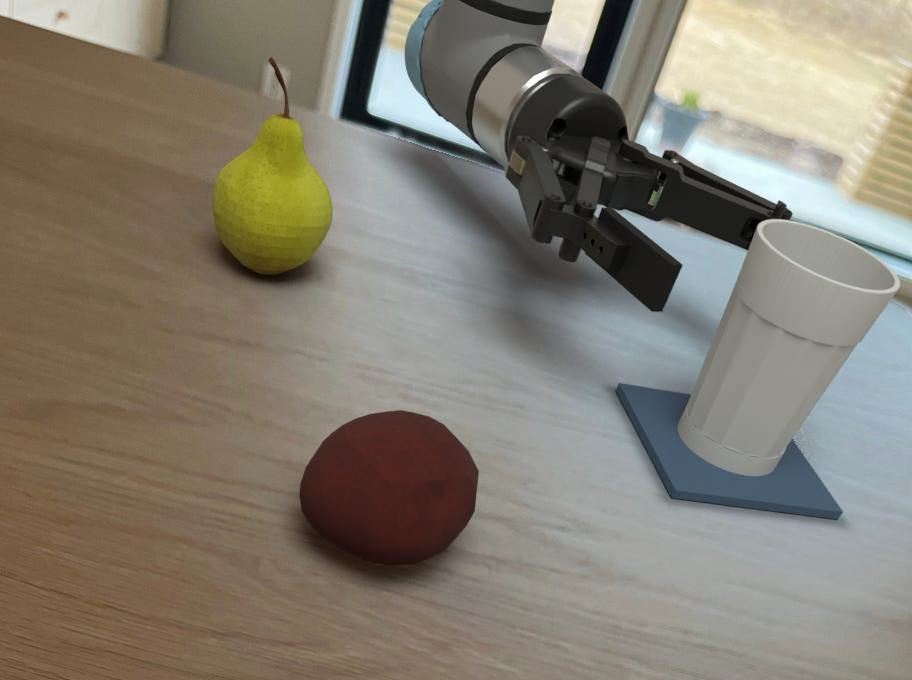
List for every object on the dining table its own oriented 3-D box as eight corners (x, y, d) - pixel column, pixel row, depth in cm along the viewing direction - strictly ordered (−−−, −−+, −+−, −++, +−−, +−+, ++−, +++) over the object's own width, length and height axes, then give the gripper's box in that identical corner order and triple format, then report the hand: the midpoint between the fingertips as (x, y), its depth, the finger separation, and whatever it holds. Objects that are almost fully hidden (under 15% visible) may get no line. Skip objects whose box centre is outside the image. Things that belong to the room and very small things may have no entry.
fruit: (289, 240, 68) (324, 41, 60) (338, 293, 65) (382, 89, 57) (190, 240, 65) (213, 28, 57) (236, 296, 61) (268, 78, 53)
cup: (638, 418, 62) (728, 222, 54) (715, 397, 67) (808, 215, 59) (739, 497, 58) (852, 299, 50) (813, 469, 63) (926, 284, 55)
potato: (491, 584, 48) (534, 478, 44) (327, 607, 44) (358, 493, 40) (421, 486, 52) (454, 381, 48) (266, 499, 48) (288, 385, 44)
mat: (766, 414, 68) (770, 407, 68) (838, 519, 61) (843, 511, 60) (615, 390, 65) (618, 382, 65) (671, 498, 58) (675, 489, 57)
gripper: (662, 194, 80) (857, 341, 68) (379, 176, 67) (560, 354, 55) (704, 90, 75) (922, 231, 63) (408, 49, 62) (613, 216, 50)
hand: (754, 289), depth 59 cm, fingers open, 13 cm apart
